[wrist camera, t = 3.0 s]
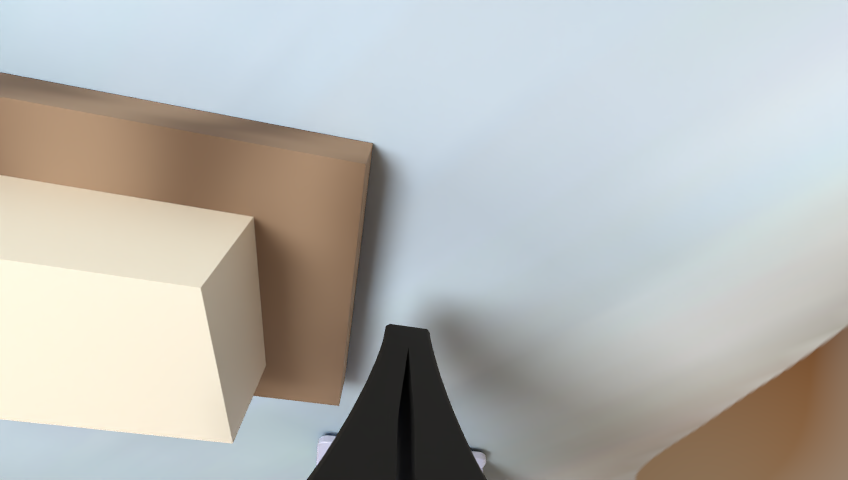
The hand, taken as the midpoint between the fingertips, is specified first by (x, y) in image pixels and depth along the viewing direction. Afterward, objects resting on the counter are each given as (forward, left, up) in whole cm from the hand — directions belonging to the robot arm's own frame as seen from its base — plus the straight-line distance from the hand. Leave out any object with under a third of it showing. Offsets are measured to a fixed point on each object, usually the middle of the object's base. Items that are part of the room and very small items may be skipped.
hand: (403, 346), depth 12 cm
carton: (+9, 0, -1) cm, 9 cm away
